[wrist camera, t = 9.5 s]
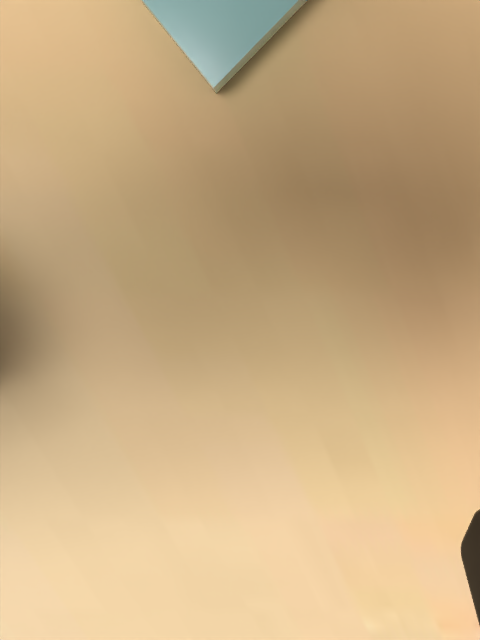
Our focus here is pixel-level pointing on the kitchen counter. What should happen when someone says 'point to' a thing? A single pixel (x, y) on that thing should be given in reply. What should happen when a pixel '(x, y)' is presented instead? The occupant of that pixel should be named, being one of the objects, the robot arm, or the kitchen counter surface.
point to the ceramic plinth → (221, 31)
